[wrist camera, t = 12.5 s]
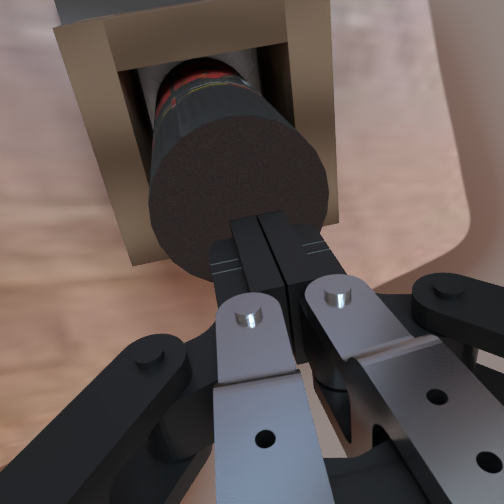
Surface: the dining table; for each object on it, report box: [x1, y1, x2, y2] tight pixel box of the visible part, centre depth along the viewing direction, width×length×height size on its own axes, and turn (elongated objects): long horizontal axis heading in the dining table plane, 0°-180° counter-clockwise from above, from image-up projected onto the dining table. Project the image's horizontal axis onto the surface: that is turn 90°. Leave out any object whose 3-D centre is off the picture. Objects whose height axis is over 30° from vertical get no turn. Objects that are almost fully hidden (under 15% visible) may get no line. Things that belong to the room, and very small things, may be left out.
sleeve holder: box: [53, 0, 339, 266], centre depth 25 cm, size 14×14×9 cm
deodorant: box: [148, 57, 329, 282], centre depth 21 cm, size 6×6×15 cm
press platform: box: [137, 48, 262, 131], centre depth 28 cm, size 7×7×1 cm
